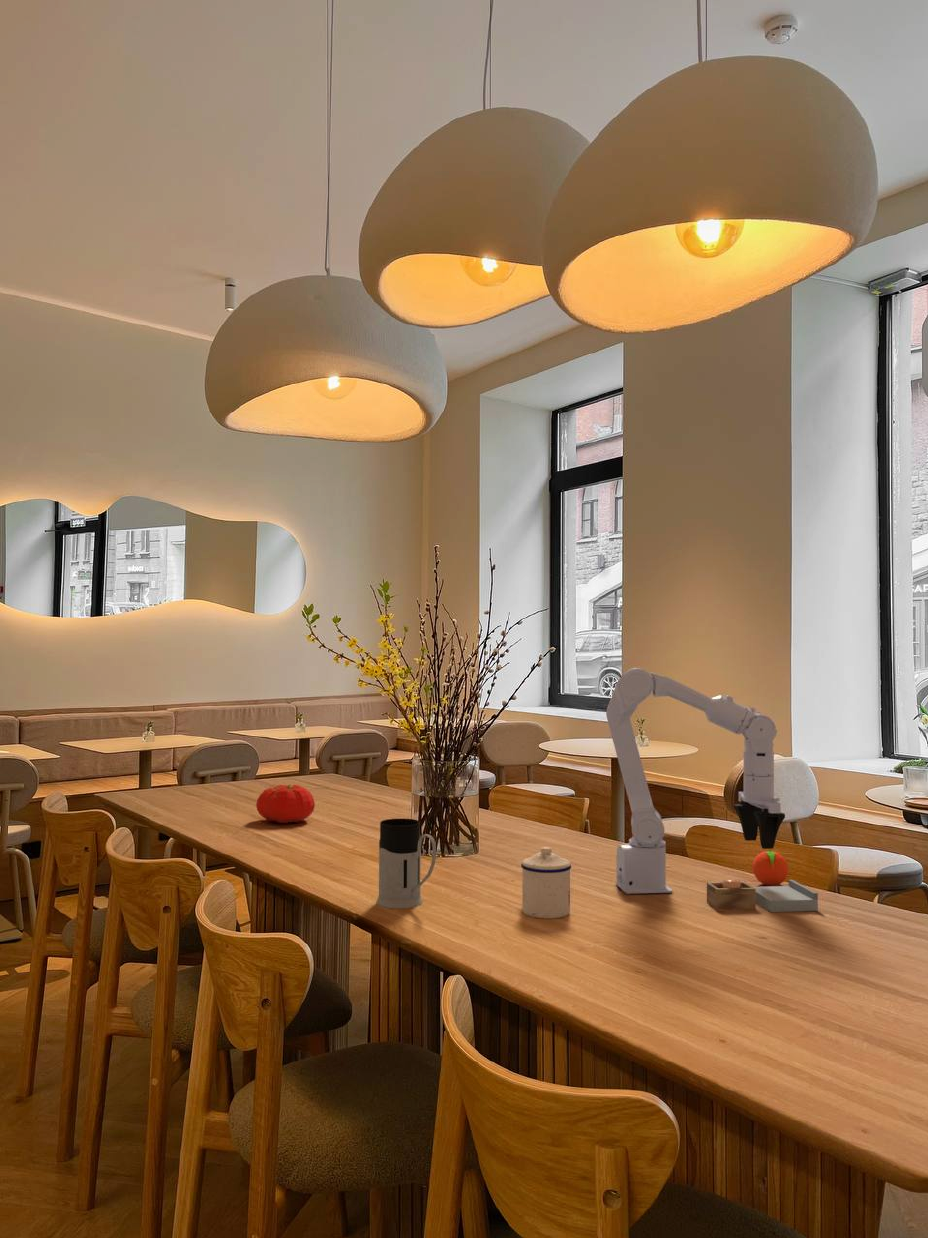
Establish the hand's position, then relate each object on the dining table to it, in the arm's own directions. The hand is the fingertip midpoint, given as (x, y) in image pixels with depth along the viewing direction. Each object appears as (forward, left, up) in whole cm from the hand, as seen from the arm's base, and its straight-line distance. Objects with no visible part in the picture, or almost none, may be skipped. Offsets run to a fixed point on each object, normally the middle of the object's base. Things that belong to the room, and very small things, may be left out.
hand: (758, 844), depth 179 cm
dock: (+1, -7, -10) cm, 12 cm away
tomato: (-99, +86, -10) cm, 131 cm away
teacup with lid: (-45, -7, -10) cm, 46 cm away
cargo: (-9, -7, -7) cm, 13 cm away
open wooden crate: (-9, -7, -10) cm, 15 cm away
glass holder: (-69, -1, -10) cm, 69 cm away
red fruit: (+5, +6, -10) cm, 13 cm away
